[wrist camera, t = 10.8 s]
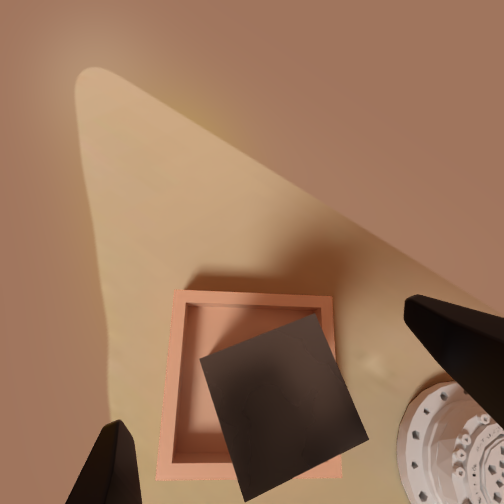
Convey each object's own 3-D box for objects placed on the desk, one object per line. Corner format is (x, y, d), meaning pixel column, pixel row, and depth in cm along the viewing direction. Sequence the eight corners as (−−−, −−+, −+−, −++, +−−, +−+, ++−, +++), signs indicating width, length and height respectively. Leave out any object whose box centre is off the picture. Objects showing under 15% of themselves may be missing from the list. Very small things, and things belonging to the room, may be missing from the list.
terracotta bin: (327, 463, 21) (342, 477, 18) (162, 464, 20) (155, 480, 17) (320, 301, 24) (331, 296, 21) (178, 295, 23) (174, 289, 20)
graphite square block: (293, 396, 21) (369, 439, 11) (230, 424, 20) (244, 502, 10) (268, 331, 22) (315, 313, 12) (207, 355, 21) (199, 358, 11)
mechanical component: (537, 416, 23) (413, 357, 24) (608, 429, 19) (456, 359, 19) (519, 575, 20) (376, 505, 20) (600, 634, 16) (417, 545, 16)
